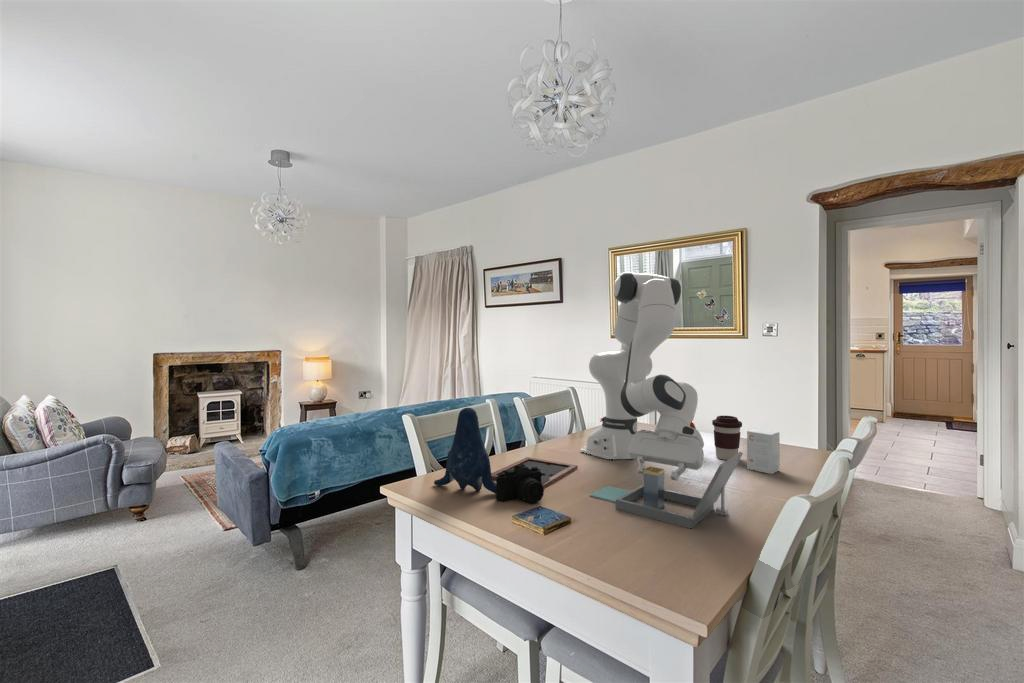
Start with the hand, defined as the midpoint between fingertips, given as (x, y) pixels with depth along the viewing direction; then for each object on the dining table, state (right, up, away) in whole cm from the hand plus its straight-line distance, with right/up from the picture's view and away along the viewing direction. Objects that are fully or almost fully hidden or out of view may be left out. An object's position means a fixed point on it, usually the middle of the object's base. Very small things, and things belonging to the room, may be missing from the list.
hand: (656, 475), depth 130 cm
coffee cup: (+40, -7, +47) cm, 62 cm away
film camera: (-35, -9, +6) cm, 37 cm away
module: (-1, -8, 0) cm, 8 cm away
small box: (+45, -7, +32) cm, 55 cm away
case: (+4, -8, -5) cm, 10 cm away
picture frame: (-32, -8, +30) cm, 44 cm away
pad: (-10, -8, +9) cm, 15 cm away
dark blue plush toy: (-52, -8, +13) cm, 54 cm away
